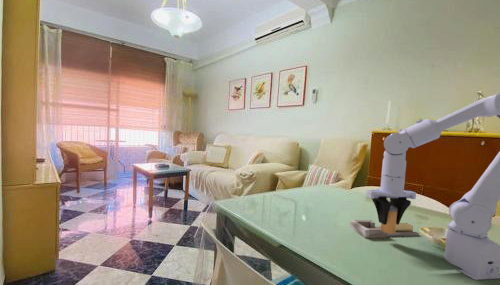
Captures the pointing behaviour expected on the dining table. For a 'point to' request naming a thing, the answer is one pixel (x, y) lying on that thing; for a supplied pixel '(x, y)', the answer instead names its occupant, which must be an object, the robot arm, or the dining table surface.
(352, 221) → the mount
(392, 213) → the cylinder
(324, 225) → the dining table surface
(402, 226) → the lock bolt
